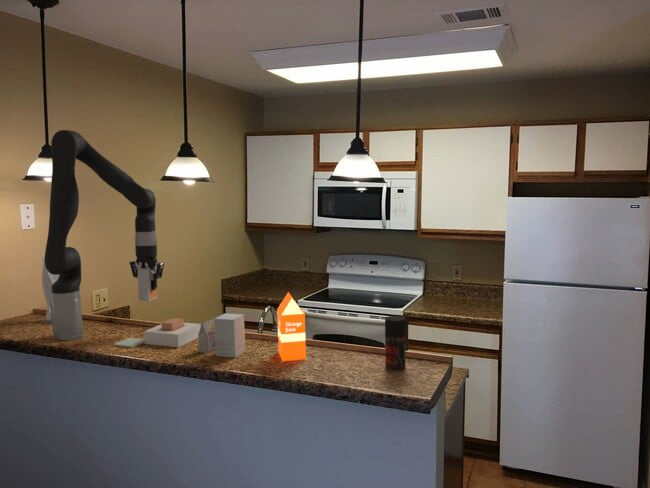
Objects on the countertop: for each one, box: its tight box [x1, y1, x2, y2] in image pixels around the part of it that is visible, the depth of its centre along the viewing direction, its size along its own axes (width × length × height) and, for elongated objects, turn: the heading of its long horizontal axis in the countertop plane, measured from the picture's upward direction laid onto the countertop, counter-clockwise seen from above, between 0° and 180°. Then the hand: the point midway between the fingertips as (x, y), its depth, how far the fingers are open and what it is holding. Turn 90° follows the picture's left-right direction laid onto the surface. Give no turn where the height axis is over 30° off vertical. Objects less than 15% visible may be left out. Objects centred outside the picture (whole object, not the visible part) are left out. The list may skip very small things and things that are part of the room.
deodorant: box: [384, 315, 406, 372], centre depth 160 cm, size 6×6×15 cm
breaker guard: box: [143, 322, 201, 348], centre depth 193 cm, size 14×14×4 cm
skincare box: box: [137, 268, 158, 302], centre depth 200 cm, size 6×4×12 cm
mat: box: [113, 337, 145, 348], centre depth 190 cm, size 8×8×1 cm
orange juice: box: [276, 291, 307, 362], centre depth 172 cm, size 8×9×20 cm
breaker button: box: [160, 317, 185, 331], centre depth 193 cm, size 5×7×4 cm
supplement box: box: [213, 312, 247, 359], centre depth 176 cm, size 7×7×13 cm
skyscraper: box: [41, 253, 59, 325], centre depth 223 cm, size 8×8×28 cm
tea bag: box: [197, 318, 216, 354], centre depth 181 cm, size 4×7×10 cm, turn 146°
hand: (147, 289), depth 200 cm, fingers closed on skincare box, 4 cm apart
